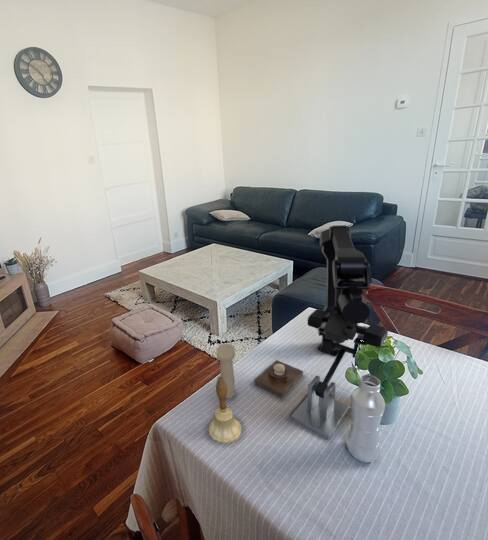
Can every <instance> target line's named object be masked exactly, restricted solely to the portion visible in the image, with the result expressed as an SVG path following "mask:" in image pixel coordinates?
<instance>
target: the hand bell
mask: <svg viewBox="0 0 488 540" xmlns="http://www.w3.org/2000/svg"><path fill="white" fill-rule="evenodd" d="M215 392H216V396H217V398H218V402H219V407H218V408H216V410H215V412H214V418H213V419H212V421H211V422H210V423H209V425H208V434H209V436H210V438H211V439H212V440H214V441H215V442H217V443H222V444H229V443H233V442H234V441H236V440H237V439H239V438H240V436H241V434H242V431H243V430H242V424H241V422H240V421H239V420H238V419H237V418H235V416H234V412H233V410H232V409H231V408H230V407H227V400H226V399H227V398H226V395H227V387H226V383H225V381H224V379H223V377H221V376H218V377H217V379H216V383H215Z"/></svg>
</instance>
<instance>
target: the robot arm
mask: <svg viewBox="0 0 488 540" xmlns="http://www.w3.org/2000/svg"><path fill="white" fill-rule="evenodd" d="M319 247H320V248H321V253H322V254H323V256H324V257H325V259H326V292H325V293H326V294H325V295H326V297H325V299H326V301H325V303H326V304H325V306H324V307H323V309H319V308H316V309H315V310H314V311H313V312H311V313H310V315H308V317H307V326H308V327H311V328H315V329H317V333H318V336H319V337H321V344H320V345H318V347H317V351H319V352H322V353H324V354H328V355H330V356H333V357H337V355H338V353H339V351H340V350H339V349H336V348H334V345H335V343H338V344H343V343H345V341H349V340H350V341H353V343H354V344H353V354H352V358H353V359H355V358H356V356H355V354H356V351H357V347H358V344H359V345H360V344H361V345H362V346H367V345H369V346H371V347H375V348H381V347H382V346H383V344H384V342H385V341H386V340H387V338H388V333H389V330H388V329H387V327H385V326H381V325H378V324H374V323H370V324H369V325H368V326H367V325H359V324H362V323H364V322H366V321H367V320H368V319H369V317H370V314H371V310H370V307H369V305H368V303H367V301H366V298H365V297H364V293H363V291H364V290H367V291H368V290H369V291H370V290H371V284H372V283H373V279H372V271H371V270H372V269H371V265H370V263H369V261H368V259H367V258H366V256H365V255H364V253H363V252H362V251H360V250H357V249H356V248H355V246H354V244H353V241H352V231H351V230H350V226H349V225H346V224H342V225H341V224H340V225H339V224H338V225H336V224H335V225H332V226H331V225H330V226H329V227H328V228H327V229H325V230H323V231H321V232H320V235H319ZM356 335H357V336H356ZM355 337H356V338H355ZM360 340H363V341H364V342H363V341H362V342H361V341H360ZM381 345H382V346H381Z"/></svg>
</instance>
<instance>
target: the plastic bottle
mask: <svg viewBox="0 0 488 540" xmlns="http://www.w3.org/2000/svg"><path fill="white" fill-rule="evenodd" d="M380 392H381V380H380V379H379V378H378V377H376V376H374V375H371V374H363V375H361V376H360V379H359V383H358V387H356V388H355V389H354V390H353V391H352V392H351V394H350V409H351V422H350V428H349V431H348V434H347V437H346V446H347V450H348V452H349V453H350V455H351V456H352V457H353V458H354V459H356V460H357V461H359V462H361V463H372V462H375V461H376V460H377V459H378V458H379V455H380V452H381V447H380V427H381V422H382V418H383V415H384V413H385V409H386V403H385V399H384V397H383V396H382V393H380Z"/></svg>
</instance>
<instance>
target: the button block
mask: <svg viewBox="0 0 488 540" xmlns="http://www.w3.org/2000/svg"><path fill="white" fill-rule="evenodd" d="M275 364H282V365H284V367H285V373H284V374H283V375H276V374H275V373H274V365H275ZM303 377H304V371H303V370H301V369H300V368H297V367H294V366H292V365H290V364H287V363H285V362H282V361H280V360H277V359H276V360H275V361H274V362H273V363H272V364H271V365H269V366H268V367H267V368H266V369H265V370H264V371H263V372H261V374H260V375H258V376H257V377H256V378H255V379H254V386H256V387H258V388H260V389H262V390H264V391H266V392H267V393H269V394H272V395H274V396H276V397H278V398H280V399H283V398H284V397H285V396H286V395H288V393H289V392H290V391H291V390H292V389H293V388H294V386H295V385H296V384H297V383H298V382H299V381H300V380H301V379H302V378H303Z"/></svg>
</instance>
